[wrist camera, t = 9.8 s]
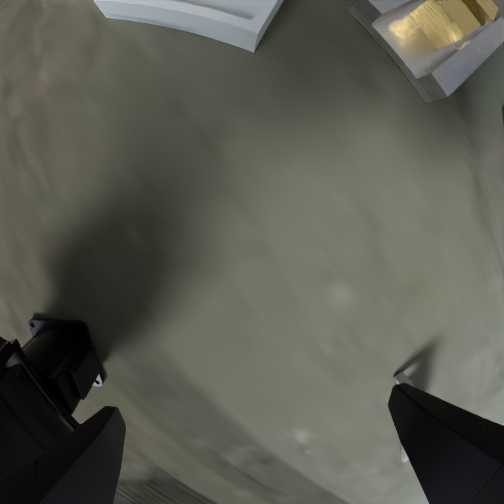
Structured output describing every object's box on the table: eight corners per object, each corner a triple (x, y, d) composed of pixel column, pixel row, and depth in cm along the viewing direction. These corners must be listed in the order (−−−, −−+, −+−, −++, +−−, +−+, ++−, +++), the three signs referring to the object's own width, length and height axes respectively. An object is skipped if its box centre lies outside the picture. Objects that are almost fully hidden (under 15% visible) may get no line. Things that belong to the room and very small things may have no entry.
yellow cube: (469, 31, 15) (493, 21, 12) (442, 2, 15) (464, -12, 11) (476, 18, 15) (498, 8, 11) (451, -9, 14) (472, -22, 10)
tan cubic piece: (438, 49, 16) (466, 36, 12) (408, 14, 15) (433, -4, 11) (455, 37, 16) (480, 25, 12) (428, 4, 15) (451, -12, 11)
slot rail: (425, 103, 18) (447, 97, 15) (347, 10, 16) (360, -7, 13) (496, 38, 16) (512, 32, 13) (444, -28, 14) (457, -37, 11)
